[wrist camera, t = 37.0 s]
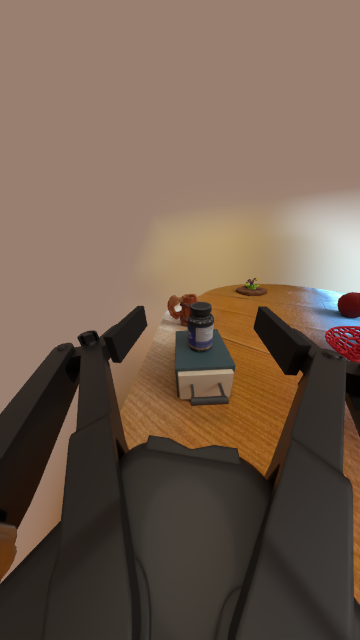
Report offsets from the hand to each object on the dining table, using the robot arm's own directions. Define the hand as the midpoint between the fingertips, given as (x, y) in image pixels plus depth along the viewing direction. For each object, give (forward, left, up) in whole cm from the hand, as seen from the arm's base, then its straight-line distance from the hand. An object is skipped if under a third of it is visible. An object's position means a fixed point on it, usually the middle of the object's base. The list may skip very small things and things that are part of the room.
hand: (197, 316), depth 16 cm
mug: (-23, +36, -25) cm, 49 cm away
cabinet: (-5, +13, -25) cm, 28 cm away
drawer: (-3, +10, -24) cm, 26 cm away
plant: (-1, +105, -25) cm, 108 cm away
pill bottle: (-5, +13, -15) cm, 20 cm away
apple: (+44, +77, -25) cm, 92 cm away
